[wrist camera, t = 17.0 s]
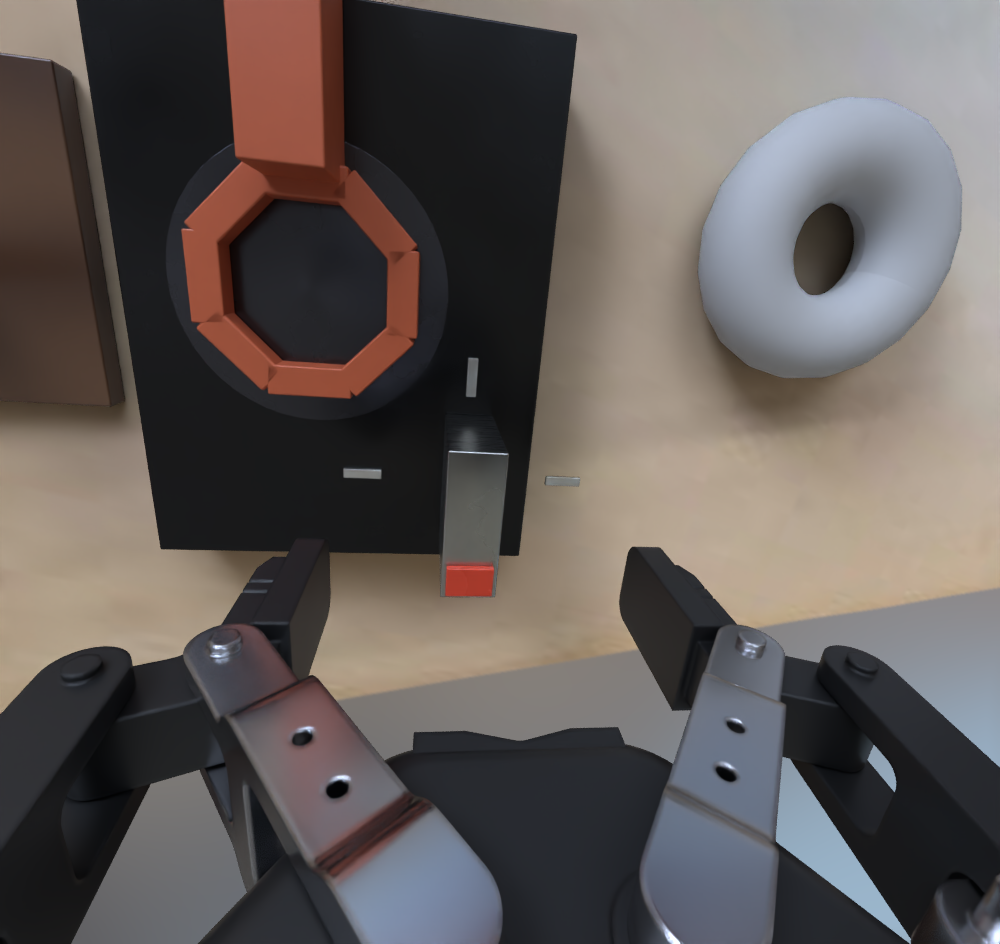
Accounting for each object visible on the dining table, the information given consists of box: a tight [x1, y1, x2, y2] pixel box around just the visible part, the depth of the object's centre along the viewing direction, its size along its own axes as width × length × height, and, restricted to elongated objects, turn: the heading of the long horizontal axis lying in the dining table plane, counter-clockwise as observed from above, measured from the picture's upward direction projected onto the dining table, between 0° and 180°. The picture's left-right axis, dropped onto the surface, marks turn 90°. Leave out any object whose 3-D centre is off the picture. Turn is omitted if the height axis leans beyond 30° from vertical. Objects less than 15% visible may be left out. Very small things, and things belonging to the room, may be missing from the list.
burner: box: [166, 142, 448, 420], centre depth 17 cm, size 9×9×1 cm
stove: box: [76, 0, 580, 556], centre depth 19 cm, size 19×16×3 cm
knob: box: [439, 414, 509, 597], centre depth 18 cm, size 5×2×5 cm, turn 175°
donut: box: [698, 97, 962, 378], centre depth 20 cm, size 10×3×10 cm
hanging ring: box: [181, 0, 420, 399], centre depth 15 cm, size 13×7×3 cm, turn 175°
